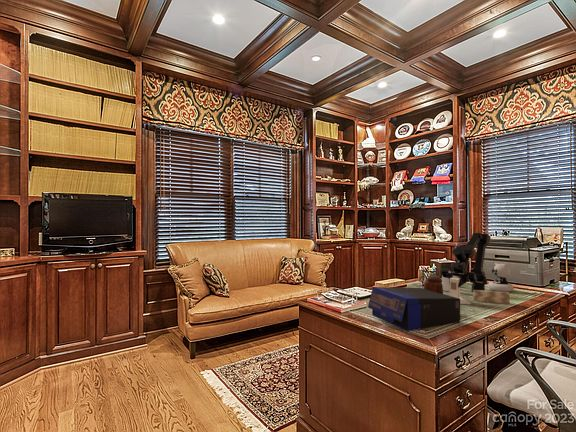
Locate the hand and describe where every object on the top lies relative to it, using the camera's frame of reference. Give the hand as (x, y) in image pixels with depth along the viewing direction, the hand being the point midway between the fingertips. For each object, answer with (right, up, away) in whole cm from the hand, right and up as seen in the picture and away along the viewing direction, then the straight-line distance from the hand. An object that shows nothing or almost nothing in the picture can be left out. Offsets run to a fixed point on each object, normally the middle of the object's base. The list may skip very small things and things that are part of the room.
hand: (454, 286), depth 185 cm
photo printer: (+11, -9, +25) cm, 29 cm away
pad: (+1, -9, +1) cm, 9 cm away
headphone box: (-36, -9, -31) cm, 49 cm away
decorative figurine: (+47, -9, +30) cm, 56 cm away
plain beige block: (+1, -7, +1) cm, 7 cm away
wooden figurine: (-18, -9, -14) cm, 25 cm away
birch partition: (+22, -9, 0) cm, 24 cm away
